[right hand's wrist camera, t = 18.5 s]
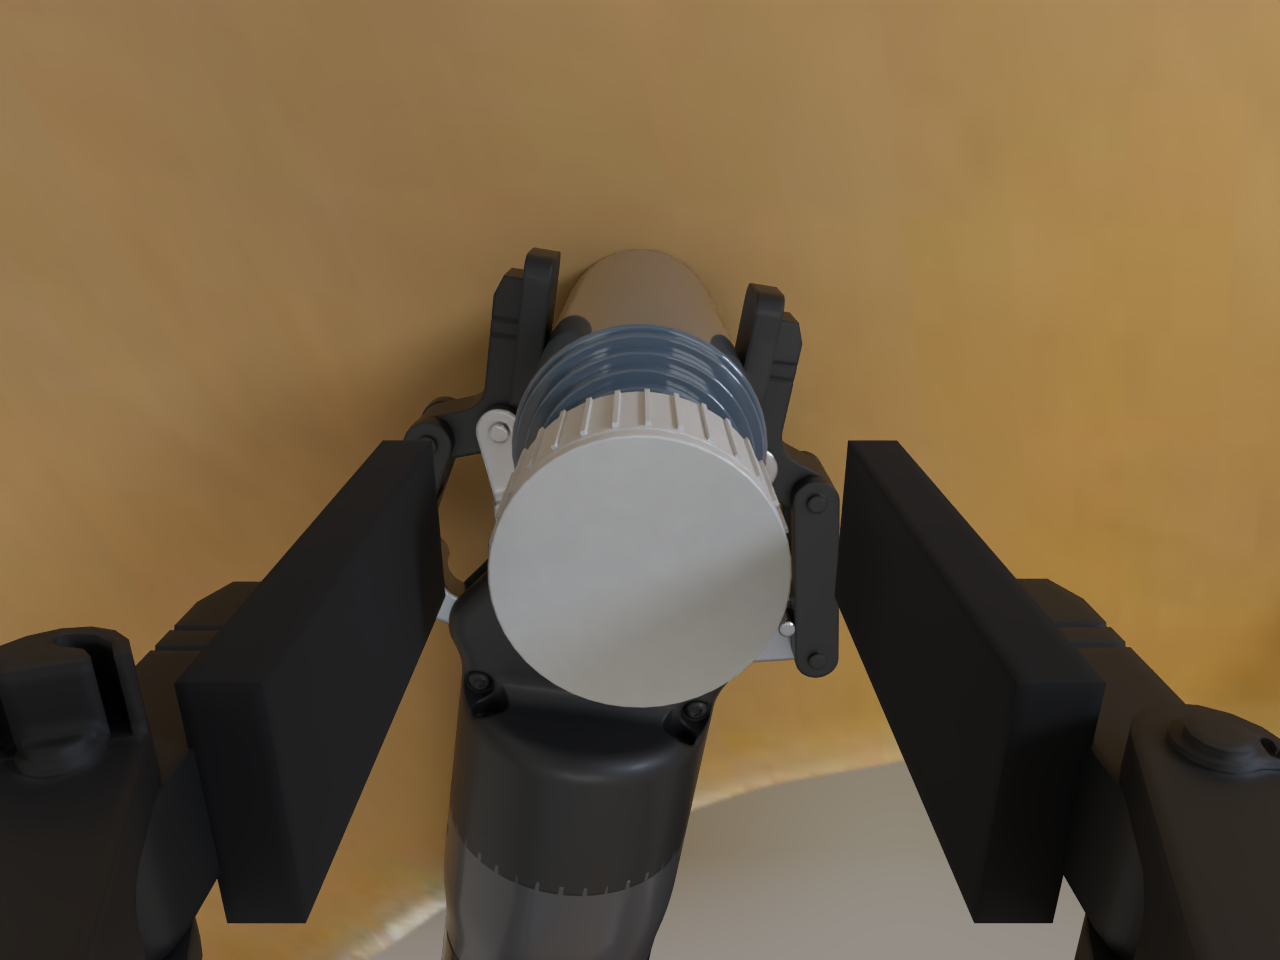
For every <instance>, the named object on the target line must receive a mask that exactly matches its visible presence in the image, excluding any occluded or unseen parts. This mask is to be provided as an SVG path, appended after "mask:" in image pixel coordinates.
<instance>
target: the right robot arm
mask: <svg viewBox="0 0 1280 960" xmlns="http://www.w3.org/2000/svg"><path fill="white" fill-rule="evenodd" d="M445 597H446V594H445V582H444V571H443V560H442V549H441V538H440V526H439V515H438V504H437V493H436V482H435V471H434V459H433V448H432V441H382V442H381V444H380V445H379V446H378V447H377V448H376V449H375V450H374V452H373V453H372V454H371V455H370V456H369V457H368V459H367V460H366V461H365V462H364V463H363V464H362V466H361V467H360V468H359V469H358V470H357V471H356V473H355V474H354V475H353V476H352V477H351V478H350V479H349V481H348V482H347V483H346V484H345V485H344V486H343V488H342V489H341V490H340V491H339V492H338V493H337V495H336V496H335V497H334V498H333V499H332V500H331V502H330V503H329V504H328V505H327V506H326V507H325V508H324V510H323V511H322V512H321V513H320V514H319V515H318V517H317V518H316V519H315V520H314V521H313V522H312V524H311V525H310V526H309V527H308V528H307V529H306V531H305V532H304V533H303V534H302V535H301V536H300V537H299V539H298V540H297V541H296V542H295V543H294V544H293V546H292V547H291V548H290V549H289V550H288V551H287V553H286V554H285V555H284V556H283V557H282V558H281V560H280V561H279V562H278V563H277V564H276V565H275V566H274V568H273V569H272V570H271V571H270V572H269V573H268V575H267V576H266V577H265V578H264V579H263V580H262V582H232V583H230V584H228V585H227V586H225V587H223V588H221V589H220V590H218V591H216V592H214V593H212V594H211V595H209V596H207V597H205V598H203V599H202V600H200V601H198V602H197V603H196V604H195V605H194V606H193V607H192V608H191V609H190V610H189V611H188V612H187V613H186V614H185V615H184V616H183V617H182V618H181V619H180V620H179V621H178V622H177V624H176V625H175V626H174V627H175V628H174V630H170V631H169V632H168V633H167V634H166V635H165V636H164V637H163V638H162V639H161V640H160V641H159V642H158V643H157V644H156V645H155V647H156V648H155V651H150V652H149V653H148V654H147V655H146V656H145V657H144V658H143V659H142V660H141V661H140V662H139V663H138V664H137V665H136V666H135V663H134V659H133V655H132V651H131V647H130V643H129V639H127V638H126V637H124V636H123V635H121V634H120V633H118V632H117V631H115V630H110V629H104V628H97V627H77V628H62V629H57V630H52V631H47V632H43V633H38V634H34V635H29V636H26V637H23V638H20V639H17V640H15V641H12V642H9V643H7V644H4V645H1V646H0V960H202V947H201V940H200V934H199V930H198V926H197V922H196V918H195V916H196V914H197V913H198V911H199V909H200V907H201V906H202V904H203V902H204V900H205V899H206V897H207V895H208V893H209V892H210V890H211V888H212V886H213V885H214V883H215V881H216V879H218V883H219V888H220V892H221V897H222V901H223V906H224V910H225V915H226V919H227V923H306V921H307V919H308V917H309V914H310V912H311V910H312V907H313V905H314V903H315V900H316V898H317V896H318V893H319V891H320V889H321V886H322V884H323V882H324V879H325V877H326V875H327V872H328V870H329V868H330V865H331V863H332V861H333V858H334V856H335V854H336V851H337V849H338V847H339V844H340V842H341V840H342V837H343V835H344V833H345V830H346V828H347V826H348V823H349V821H350V819H351V816H352V814H353V812H354V809H355V807H356V804H357V802H358V800H359V797H360V795H361V793H362V790H363V788H364V786H365V783H366V781H367V779H368V776H369V774H370V772H371V769H372V767H373V765H374V762H375V760H376V758H377V755H378V753H379V751H380V748H381V746H382V744H383V741H384V739H385V737H386V734H387V732H388V730H389V727H390V725H391V723H392V720H393V718H394V716H395V713H396V711H397V709H398V706H399V704H400V702H401V699H402V697H403V695H404V692H405V690H406V688H407V685H408V683H409V681H410V678H411V676H412V674H413V671H414V669H415V667H416V664H417V662H418V660H419V657H420V655H421V653H422V650H423V648H424V646H425V643H426V641H427V639H428V636H429V634H430V632H431V629H432V627H433V625H434V622H435V620H436V618H437V615H438V613H439V611H440V608H441V606H442V604H443V601H444V599H445ZM834 597H835V599H836V601H837V604H838V606H839V608H840V611H841V613H842V615H843V618H844V620H845V622H846V625H847V627H848V629H849V632H850V634H851V636H852V639H853V641H854V643H855V646H856V648H857V650H858V653H859V655H860V657H861V660H862V662H863V664H864V667H865V669H866V671H867V674H868V676H869V678H870V681H871V683H872V685H873V688H874V690H875V692H876V695H877V697H878V699H879V702H880V704H881V706H882V709H883V711H884V713H885V716H886V718H887V720H888V723H889V725H890V727H891V730H892V732H893V734H894V737H895V739H896V741H897V744H898V746H899V748H900V751H901V753H902V755H903V758H904V760H905V762H906V765H907V767H908V769H909V772H910V774H911V776H912V779H913V781H914V783H915V786H916V788H917V790H918V793H919V795H920V797H921V800H922V802H923V804H924V807H925V809H926V811H927V814H928V816H929V818H930V821H931V823H932V825H933V828H934V830H935V833H936V835H937V837H938V839H939V842H940V844H941V847H942V849H943V851H944V854H945V856H946V858H947V860H948V863H949V865H950V868H951V870H952V872H953V874H954V877H955V879H956V882H957V884H958V886H959V888H960V891H961V893H962V895H963V898H964V900H965V903H966V905H967V907H968V910H969V912H970V914H971V917H972V919H973V921H974V923H1053V919H1054V915H1055V910H1056V906H1057V901H1058V897H1059V892H1060V888H1061V883H1062V879H1063V875H1064V877H1065V878H1066V880H1067V882H1068V883H1069V885H1070V887H1071V889H1072V890H1073V892H1074V894H1075V896H1076V897H1077V899H1078V901H1079V902H1080V904H1081V906H1082V908H1083V909H1084V911H1085V918H1084V922H1083V926H1082V930H1081V934H1080V939H1079V943H1078V947H1077V951H1076V955H1075V959H1074V960H1280V739H1279V738H1278V737H1276V736H1275V735H1273V734H1272V733H1270V732H1269V731H1267V730H1266V729H1264V728H1263V727H1261V726H1258V725H1256V724H1254V723H1251V722H1249V721H1247V720H1244V719H1242V718H1240V717H1238V716H1235V715H1233V714H1230V713H1226V712H1223V711H1219V710H1215V709H1211V708H1207V707H1203V706H1199V705H1188V704H1185V703H1184V702H1183V701H1182V700H1181V699H1180V698H1179V697H1178V696H1177V695H1176V694H1175V693H1174V692H1173V691H1172V690H1171V689H1170V688H1169V687H1168V686H1167V685H1166V683H1165V682H1164V681H1163V680H1162V679H1161V678H1160V677H1159V676H1158V675H1157V674H1156V673H1155V672H1154V671H1153V670H1152V669H1151V668H1150V667H1149V666H1148V665H1147V664H1146V663H1145V662H1144V661H1143V660H1142V659H1141V658H1140V657H1139V656H1138V655H1137V654H1136V653H1135V652H1134V651H1133V650H1132V648H1131V647H1126V646H1125V641H1124V640H1123V639H1122V638H1121V637H1120V636H1119V635H1118V634H1117V633H1116V632H1115V631H1114V630H1113V629H1112V628H1111V627H1106V622H1105V621H1104V620H1103V619H1102V618H1101V617H1100V616H1099V614H1098V613H1097V612H1096V611H1095V610H1094V609H1093V608H1092V607H1091V606H1090V605H1089V604H1088V603H1087V602H1086V601H1085V600H1084V599H1083V598H1081V597H1079V596H1077V595H1075V594H1074V593H1072V592H1070V591H1068V590H1066V589H1065V588H1063V587H1061V586H1059V585H1057V584H1056V583H1054V582H1052V581H1050V580H1048V579H1016V578H1015V577H1014V576H1013V575H1012V573H1011V572H1010V571H1009V570H1008V569H1007V568H1006V566H1005V565H1004V564H1003V563H1002V562H1001V561H1000V560H999V558H998V557H997V556H996V555H995V554H994V553H993V551H992V550H991V549H990V548H989V547H988V546H987V544H986V543H985V542H984V541H983V540H982V539H981V537H980V536H979V535H978V534H977V533H976V532H975V531H974V529H973V528H972V527H971V526H970V525H969V524H968V522H967V521H966V520H965V519H964V518H963V517H962V515H961V514H960V513H959V512H958V511H957V510H956V508H955V507H954V506H953V505H952V504H951V503H950V502H949V500H948V499H947V498H946V497H945V496H944V495H943V493H942V492H941V491H940V490H939V489H938V488H937V486H936V485H935V484H934V483H933V482H932V481H931V479H930V478H929V477H928V476H927V475H926V474H925V473H924V471H923V470H922V469H921V468H920V467H919V466H918V464H917V463H916V462H915V461H914V460H913V459H912V457H911V456H910V455H909V454H908V453H907V452H906V450H905V449H904V448H903V447H902V446H901V445H900V444H899V442H898V441H848V448H847V459H846V471H845V482H844V493H843V504H842V515H841V526H840V538H839V549H838V560H837V571H836V582H835V594H834Z"/></svg>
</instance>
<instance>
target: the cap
mask: <svg viewBox="0 0 1280 960" xmlns="http://www.w3.org/2000/svg"><path fill="white" fill-rule="evenodd" d="M494 518H495V519H497V522H496V524H495V527H494V530H493V532H492V535H491V537H490V540H489V544H488V547H490V548H489V557H488V565H487V566H488V586H489V592H490V598H491V602H492V605H493V608H494V611H495V614H496V617H497V619H498V621H499V624H500V626H501V628H502V630H503V632H504V634H505V635H506V637H507V638H508V640H509V641H510V643H511V644H512V646H513V647H514V649H515V650H516V651H517V652H518V653H519V654H520V655H521V657H522V658H523V659H524V660H525V661H526V662H527V663H528V664H529V665H530V666H531V667H532V668H534V669H535V670H536V671H537V672H538V673H539V674H540V675H542V676H543V677H545V678H546V679H548V680H549V681H551V682H552V683H554V684H555V685H557V686H559V687H561V688H563V689H565V690H566V691H568V692H570V693H573V694H575V695H578V696H580V697H583V698H586V699H588V700H592V701H596V702H600V703H603V704H608V705H615V706H622V707H656V706H665V705H670V704H676V703H681V702H684V701H687V700H690V699H693V698H697V697H699V696H702V695H704V694H706V693H708V692H711V691H713V690H715V689H717V688H719V687H720V686H722V685H724V684H725V683H727V682H729V681H731V680H732V679H733V678H734V677H736V676H737V675H738V674H740V673H741V672H742V671H744V670H745V669H746V668H747V667H748V666H749V665H750V664H751V663H752V662H753V661H754V660H755V659H756V658H757V657H758V656H759V655H760V654H761V652H762V651H763V650H764V648H765V647H766V646H767V645H768V643H769V642H770V640H771V639H772V637H773V635H774V633H775V632H776V630H777V628H778V627H779V624H780V622H781V620H782V617H783V615H784V612H785V610H786V606H787V602H788V598H789V594H790V587H791V578H792V567H791V554H790V549H789V543H788V539H787V536H786V533H789V531H788V527H787V524H786V522H785V519H784V517H783V514H782V511H781V509H780V506H779V502H778V499H777V496H776V494H775V491H774V489H773V486H772V484H771V481H770V478H769V476H768V473H767V471H766V468H765V465H764V463H763V461H762V460H760V461H758V460H757V458H756V456H755V454H754V451H753V448H752V446H751V443H750V440H749V439H748V438H747V437H746V438H745V439H743V438H742V437H741V436H740V434H739V433H738V432H737V431H736V430H735V429H734V428H733V427H732V425H731V422H730V420H729V419H728V418H725V420H723V419H722V418H721V417H719V416H718V415H716V414H715V413H713V412H711V411H710V410H708V409H707V406H706V404H704V403H701V405H698V404H696V403H694V402H691V401H689V400H686V399H683V398H680V397H679V394H677V393H674V394H673V395H668V394H662V393H656V392H650V389H644V392H625V393H621V392H620V390H616V391H615V394H612V395H607V396H603V397H599V398H596V399H594V400H592V397H589V398H587V399H586V402H585V403H583V404H581V405H579V406H577V407H575V408H573V409H571V410H569V411H567V412H566V410H563V411H561V412H560V416H559V418H557V419H556V420H554V421H553V422H552V423H551V424H550V425H549V426H548V427H547V428H546V429H544V428H543V427H541V428H540V429H539V431H538V434H537V437H536V439H535V441H534V442H533V443H532V444H531V445H530V447H529V449H528V450H527V449H525V448H524V449H523V451H522V453H521V455H520V458H519V461H518V463H517V466H516V468H515V471H514V473H513V472H512V473H511V476H510V478H509V481H508V483H507V486H506V489H505V491H504V494H503V496H502V499H501V502H500V504H499V507H498V509H497V512H496V514H495V517H494Z"/></svg>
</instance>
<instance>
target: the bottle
mask: <svg viewBox="0 0 1280 960" xmlns="http://www.w3.org/2000/svg"><path fill="white" fill-rule="evenodd" d="M644 389H650V392H656V393H662V394H668V395H673V394H674V393H677V394H679V397H680V398H683V399H686V400H689V401H691V402H694V403H696V404H698V405H701V403H704V404H706V406H707V409H708V410H710V411H711V412H713V413H715V414H716V415H718V416H719V417H721V418H722V419H723V420H725V418H728V419H729V420H730V422H731V425H732V427H733V428H734V429H735V430H736V431H737V432H738V433H739V434H740V436H741V437H742V438H743V439H745V438H746V437H747V438H748V439H749V440H750V443H751V446H752V448H753V451H754V454H755V456H756V458H757V460H758V461H760V460H762V461H763V463H764V465H766V460H767V445H768V444H767V430H766V424H765V420H764V415H763V411H762V409H761V406H760V403H759V401H758V398H757V396H756V393H755V391H754V389H753V387H752V385H751V383H750V380H749V378H748V376H747V374H746V372H745V370H744V367H743V365H742V363H741V361H740V359H739V357H738V354H737V352H736V350H735V348H734V346H733V344H732V342H731V339H730V337H729V335H728V333H727V331H726V329H725V326H724V324H723V322H722V320H721V318H720V316H719V313H718V311H717V309H716V307H715V305H714V303H713V300H712V298H711V296H710V294H709V292H708V290H707V288H706V287H705V285H704V284H703V282H702V281H701V279H700V278H699V277H698V276H697V275H696V274H695V273H694V272H693V271H692V270H691V269H690V268H689V267H688V266H686V265H685V264H684V263H682V262H681V261H679V260H677V259H676V258H673V257H671V256H669V255H667V254H663V253H660V252H657V251H650V250H629V251H623V252H619V253H616V254H613V255H610V256H608V257H606V258H604V259H602V260H600V261H599V262H597V263H596V264H594V265H593V266H592V267H590V268H589V269H588V270H587V271H586V272H585V273H584V274H583V275H582V276H581V277H580V279H579V280H578V281H577V283H576V284H575V285H574V287H573V289H572V291H571V293H570V295H569V297H568V299H567V301H566V303H565V305H564V308H563V310H562V312H561V314H560V316H559V318H558V321H557V323H556V325H555V327H554V329H553V331H552V334H551V336H550V338H549V340H548V342H547V344H546V346H545V349H544V351H543V353H542V355H541V357H540V359H539V362H538V364H537V366H536V368H535V370H534V372H533V375H532V377H531V379H530V381H529V383H528V385H527V388H526V390H525V392H524V394H523V396H522V399H521V401H520V404H519V407H518V409H517V413H516V417H515V421H514V425H513V434H512V458H513V463H514V469H515V468H516V466H517V463H518V461H519V458H520V455H521V453H522V451H523V449H524V448H525V449H527V450H528V449H529V447H530V445H531V444H532V443H533V442H534V441H535V439H536V437H537V434H538V431H539V429H540V428H541V427H543V428H544V429H546V428H547V427H548V426H549V425H550V424H551V423H552V422H553V421H554V420H556V419H557V418H559V416H560V412H561V411H563V410H566V412H567V411H569V410H571V409H573V408H575V407H577V406H579V405H581V404H583V403H585V402H586V399H587V398H589V397H592V400H594V399H596V398H599V397H603V396H607V395H612V394H615V391H616V390H620V392H621V393H625V392H644Z"/></svg>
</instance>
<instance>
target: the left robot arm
mask: <svg viewBox="0 0 1280 960" xmlns="http://www.w3.org/2000/svg"><path fill="white" fill-rule="evenodd" d="M559 266H560V252H558V251H552V250H546V249H540V248H532V249H531V250H530V251H529V252H528V253H527V256H526V260H525V265H524V270H522V269H516V268H511V269H510V270H509V271H508V272H507V273H506V274H505V275H504V276H503V278H502V280H501V282H500V284H499V286H498V288H497V290H496V292H495V293H494V298H493V309H492V320H491V330H490V340H489V351H488V361H487V372H486V382H485V389H484V391H483V392H481V393H480V394H477V395H475V396H471V397H465V398H460V399H454V398H452V397H439V398H436V399H434V400H433V401H432V402H431V403H430V404H429V405H428V406H427V407H426V409H425V410H424V412H423V415H422V417H421V418H420V419H419V420H417V421H416V422H415V423H414V424H413V425H412V426H411V427H410V429H409V430H408V431H407V433H406V435H405V438H404V441H432V448H433V459H434V471H435V482H436V493H437V504H438V507H439V504H440V502H441V499H442V496H443V493H444V490H445V487H446V484H447V482H448V479H449V476H450V473H451V470H452V467H453V465H454V462H455V459H456V458H457V457H463V456H468V455H473V454H479V453H482V457H483V460H484V464H485V467H486V471H487V474H488V478H489V481H490V484H491V488H492V492H493V497H494V513H495V514H496V512H497V509H498V507H499V504H500V502H501V499H502V496H503V494H504V491H505V489H506V486H507V483H508V481H509V478H510V476H511V473H512V472H513V473H514V471H515V469H514V463H513V458H512V434H513V425H514V421H515V417H516V413H517V409H518V407H519V404H520V401H521V399H522V396H523V394H524V392H525V390H526V388H527V385H528V383H529V381H530V379H531V377H532V375H533V372H534V370H535V368H536V366H537V364H538V362H539V359H540V357H541V355H542V353H543V351H544V349H545V346H546V344H547V342H548V340H549V338H550V336H551V333H552V324H553V316H554V308H555V299H556V291H557V283H558V275H559ZM784 303H785V299H784V295H783V294H782V293H781V292H780V291H779V290H778V289H777V287H772V286H765V285H759V284H753V283H750V284H749V285H748V288H747V291H746V295H745V300H744V305H743V310H742V315H741V320H740V325H739V330H738V335H737V340H736V345H735V350H736V352H737V354H738V357H739V359H740V361H741V363H742V365H743V367H744V370H745V372H746V374H747V376H748V378H749V380H750V383H751V385H752V387H753V389H754V391H755V393H756V396H757V398H758V401H759V403H760V406H761V409H762V411H763V415H764V420H765V424H766V430H767V444H768V445H767V460H766V465H765V468H766V471H767V473H768V476H769V478H770V481H771V484H772V486H773V489H774V491H775V494H776V496H777V499H778V502H779V503H780V509H781V511H782V514H783V517H784V519H785V522H786V524H787V527H788V531H789V533H786V536H787V539H788V543H789V549H790V554H791V567H792V578H791V587H790V594H789V598H788V602H787V606H786V610H785V612H784V615H783V617H782V620H781V622H780V624H779V627H778V628H777V630H776V632H775V633H774V635H773V637H772V639H771V640H770V642H769V643H768V645H767V646H766V647H765V648H764V650H763V651H762V652H761V654H760V655H759V656H758V657H757V658H756V659H755V660H754V661H753V662H765V661H781V660H795V663H796V666H797V668H798V670H799V671H800V672H801V673H802V674H804V675H806V676H808V677H813V678H817V677H823V676H826V675H827V674H829V673H831V672H832V671H833V670H834V669H835V667H836V665H837V663H838V644H839V606H838V604H837V601H836V599H835V597H834V594H835V582H836V571H837V560H838V549H839V508H840V501H839V495H838V493H837V491H836V489H835V487H834V486H833V484H832V482H831V480H830V478H829V477H828V475H827V473H826V471H825V470H824V468H823V466H822V464H821V463H820V461H819V459H818V458H817V457H816V456H815V455H814V454H812V453H810V452H806V451H799V450H797V449H795V448H793V447H791V446H789V445H788V444H786V443H785V442H783V441H782V431H783V426H784V422H785V418H786V413H787V409H788V404H789V400H790V396H791V391H792V387H793V381H794V378H795V374H796V369H797V365H798V360H799V356H800V351H801V347H802V340H801V334H800V327H799V323H798V322H797V320H796V319H795V318H794V317H793V316H792V315H791V314H790V313H788V312H784ZM496 522H497V519H496ZM441 549H442V560H443V571H444V582H445V594H446V597H445V599H444V601H443V604H442V606H441V608H440V611H439V613H438V615H437V618H436V619H437V620H440V621H443V622H446V623H449V631H450V635H451V637H452V639H453V641H454V643H455V645H456V647H457V649H458V651H459V653H460V657H461V661H462V681H461V691H460V701H459V711H458V721H457V731H456V741H455V752H454V762H453V772H452V782H451V792H450V803H449V813H448V823H447V833H446V844H445V858H444V882H445V893H446V906H447V911H446V921H445V931H444V940H443V950H442V960H649V957H650V953H651V948H652V945H653V942H654V938H655V936H656V933H657V931H658V929H659V926H660V924H661V922H662V920H663V917H664V914H665V912H666V909H667V906H668V903H669V900H670V897H671V893H672V890H673V886H674V882H675V878H676V873H677V869H678V864H679V860H680V855H681V851H682V846H683V842H684V837H685V832H686V828H687V823H688V819H689V814H690V810H691V806H692V801H693V796H694V792H695V787H696V783H697V778H698V774H699V769H700V765H701V760H702V756H703V751H704V747H705V742H706V738H707V733H708V729H709V724H710V720H711V716H712V711H713V707H714V703H715V700H716V698H717V696H718V694H719V693H720V691H721V690H722V688H723V687H724V686H725V685H726V684H727V683H728V682H727V683H725V684H724V685H722V686H720V687H719V688H717V689H715V690H713V691H711V692H708V693H706V694H704V695H702V696H699V697H697V698H693V699H690V700H687V701H684V702H681V703H676V704H670V705H665V706H656V707H622V706H615V705H608V704H603V703H600V702H596V701H592V700H588V699H586V698H583V697H580V696H578V695H575V694H573V693H570V692H568V691H566V690H565V689H563V688H561V687H559V686H557V685H555V684H554V683H552V682H551V681H549V680H548V679H546V678H545V677H543V676H542V675H540V674H539V673H538V672H537V671H536V670H535V669H534V668H532V667H531V666H530V665H529V664H528V663H527V662H526V661H525V660H524V659H523V658H522V657H521V655H520V654H519V653H518V652H517V651H516V650H515V649H514V647H513V646H512V644H511V643H510V641H509V640H508V638H507V637H506V635H505V634H504V632H503V630H502V628H501V626H500V624H499V621H498V619H497V617H496V614H495V611H494V608H493V605H492V602H491V598H490V592H489V586H488V566H487V565H488V559H487V560H486V561H485V562H484V563H483V564H482V565H481V566H480V567H479V568H478V569H477V570H476V571H475V572H474V573H473V574H472V575H471V576H470V577H469V578H468V579H467V580H466V581H465V582H462V581H459V580H458V579H456V578H455V577H454V576H453V575H452V573H451V572H450V570H449V566H448V559H449V549H448V546H447V544H446V543H445V541H444V540H443V539H442V538H441Z"/></svg>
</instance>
